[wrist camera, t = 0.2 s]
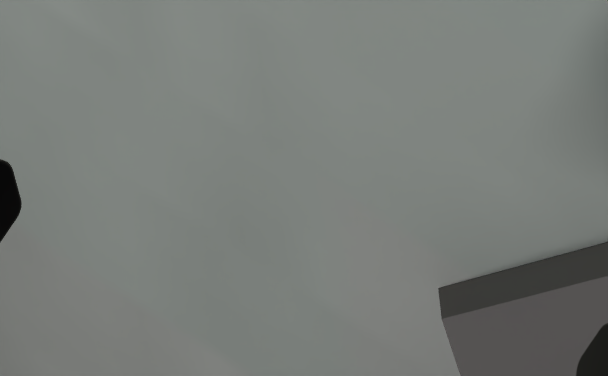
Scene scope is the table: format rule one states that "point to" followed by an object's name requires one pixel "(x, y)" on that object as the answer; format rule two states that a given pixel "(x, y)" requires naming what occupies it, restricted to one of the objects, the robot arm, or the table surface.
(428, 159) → the table surface
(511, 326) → the grey flat block
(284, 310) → the table surface
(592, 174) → the table surface
